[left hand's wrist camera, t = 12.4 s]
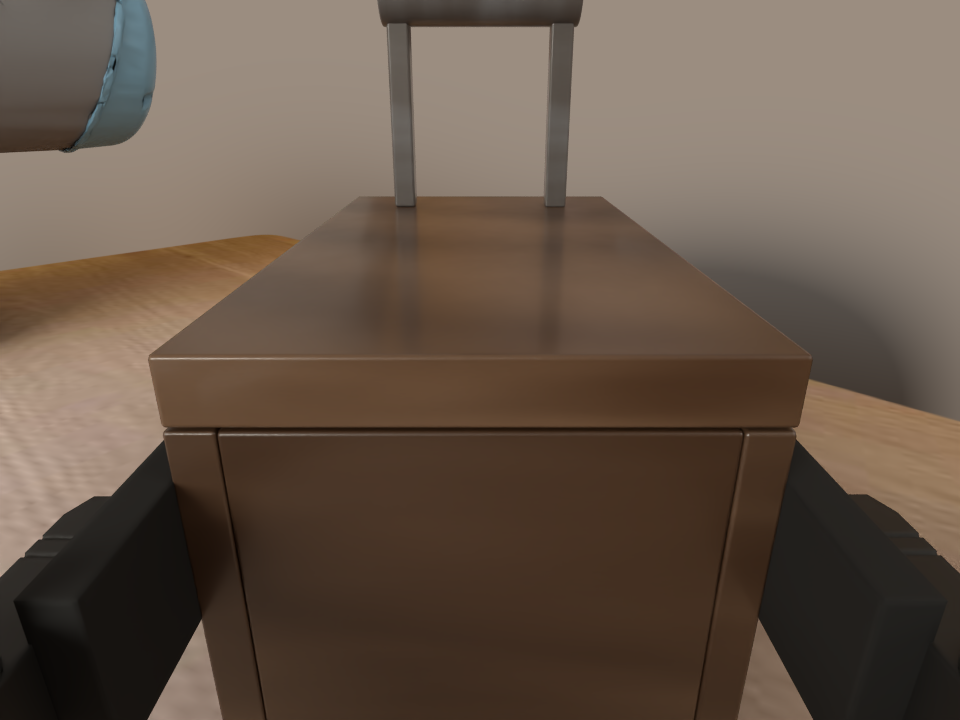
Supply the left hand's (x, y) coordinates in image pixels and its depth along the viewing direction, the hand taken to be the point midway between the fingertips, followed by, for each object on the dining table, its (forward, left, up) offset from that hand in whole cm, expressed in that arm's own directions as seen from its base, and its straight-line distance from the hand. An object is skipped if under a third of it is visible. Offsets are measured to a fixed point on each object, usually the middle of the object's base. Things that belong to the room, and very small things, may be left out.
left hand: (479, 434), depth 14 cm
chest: (+3, -2, -7) cm, 8 cm away
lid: (+4, -3, +2) cm, 5 cm away
